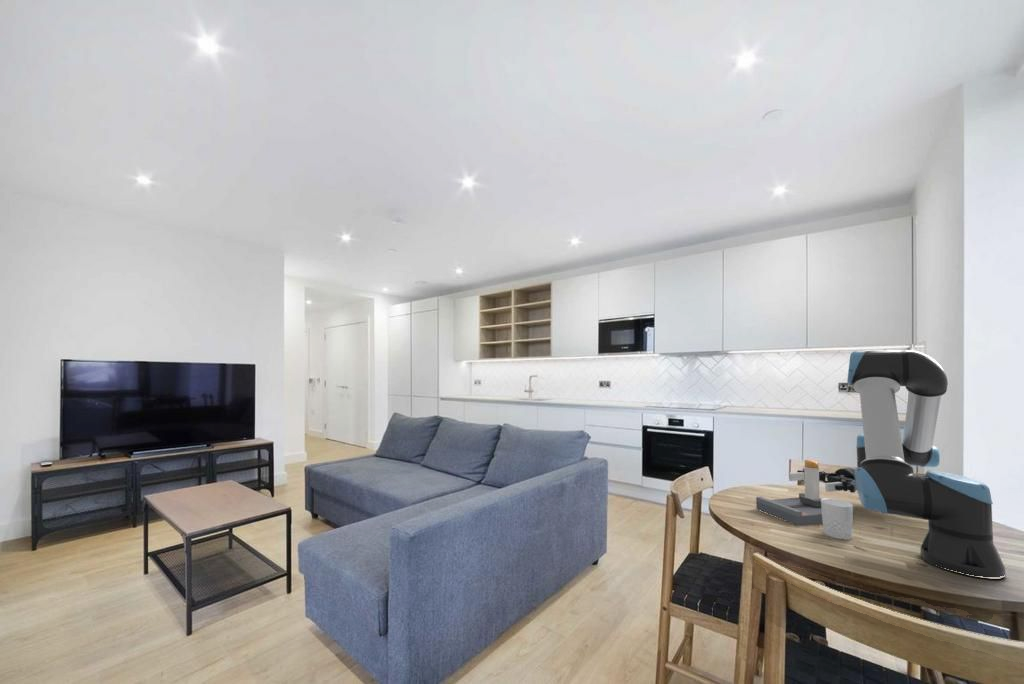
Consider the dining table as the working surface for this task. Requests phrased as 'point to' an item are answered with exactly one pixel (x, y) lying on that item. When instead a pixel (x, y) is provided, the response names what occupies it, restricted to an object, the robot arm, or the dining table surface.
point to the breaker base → (792, 518)
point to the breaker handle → (811, 484)
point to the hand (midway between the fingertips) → (807, 482)
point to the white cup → (837, 518)
